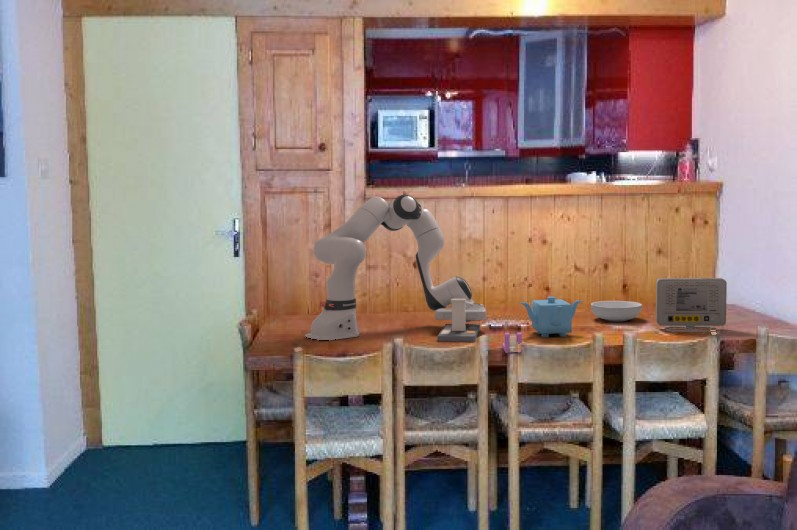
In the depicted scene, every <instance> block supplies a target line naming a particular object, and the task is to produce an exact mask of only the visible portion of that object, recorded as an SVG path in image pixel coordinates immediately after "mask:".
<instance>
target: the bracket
mask: <svg viewBox="0 0 797 530" xmlns="http://www.w3.org/2000/svg"><path fill="white" fill-rule="evenodd" d="M522 335H523V334H522V332H516V335H515V336H516V337H517V342H518V344H520V343H522V344H523V339H522V338H523V336H522ZM509 338H510V332H504V342H503V343H502V348H503V351H504V353H505V354H509V353H508V349H509ZM510 339H511V338H510Z"/></svg>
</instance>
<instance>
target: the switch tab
mask: <svg viewBox="0 0 797 530" xmlns="http://www.w3.org/2000/svg"><path fill="white" fill-rule="evenodd" d="M451 303H452V304H451V308H452V320H451V324H452V331H465V330H466V324H467V323H465V303H466V299H451Z"/></svg>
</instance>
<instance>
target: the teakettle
mask: <svg viewBox="0 0 797 530" xmlns="http://www.w3.org/2000/svg"><path fill="white" fill-rule="evenodd" d="M546 298H547V299H535V300H531V305H530V303H528V302H520V304H521V305H523V306H524V307H525V309H526V312H527V316H528V319H530V321H531V324H532V329H534V331H536V334H537V335H541V336H540V337H541V338H549V337H550V334H558V335H559V337H561V338H562V337H563V338H565V337H566V338H567V337H568V335H567V334H572V332H573V331H572V329H573V328H572V326H573V322H572V321H573V319H574V317H575V314H576V310H577V308H578V305H579V304H581V302H584V300H581V299H580V300H575V301H573V303H572V304H571V303H569V302H568V301H566V300H563V299H557V297H555V296H547V297H546Z"/></svg>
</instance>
